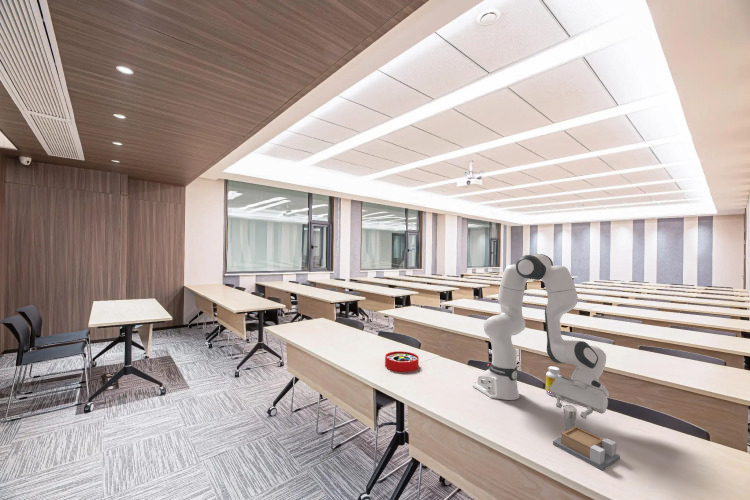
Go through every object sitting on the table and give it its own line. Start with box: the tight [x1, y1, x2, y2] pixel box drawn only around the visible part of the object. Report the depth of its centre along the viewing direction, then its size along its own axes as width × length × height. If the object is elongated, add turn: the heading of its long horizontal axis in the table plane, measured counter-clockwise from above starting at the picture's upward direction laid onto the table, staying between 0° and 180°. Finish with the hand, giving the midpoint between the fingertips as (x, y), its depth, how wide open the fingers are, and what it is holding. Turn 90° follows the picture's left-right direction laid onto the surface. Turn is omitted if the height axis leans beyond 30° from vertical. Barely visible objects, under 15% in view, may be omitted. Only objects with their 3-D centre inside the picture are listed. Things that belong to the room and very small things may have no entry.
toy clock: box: [384, 350, 420, 373], centre depth 194 cm, size 20×6×20 cm
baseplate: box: [552, 425, 621, 472], centre depth 113 cm, size 16×12×5 cm
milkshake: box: [560, 400, 578, 431], centre depth 128 cm, size 4×5×10 cm
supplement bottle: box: [545, 365, 562, 397], centre depth 159 cm, size 7×7×13 cm
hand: (570, 412), depth 128 cm, fingers open, 8 cm apart
